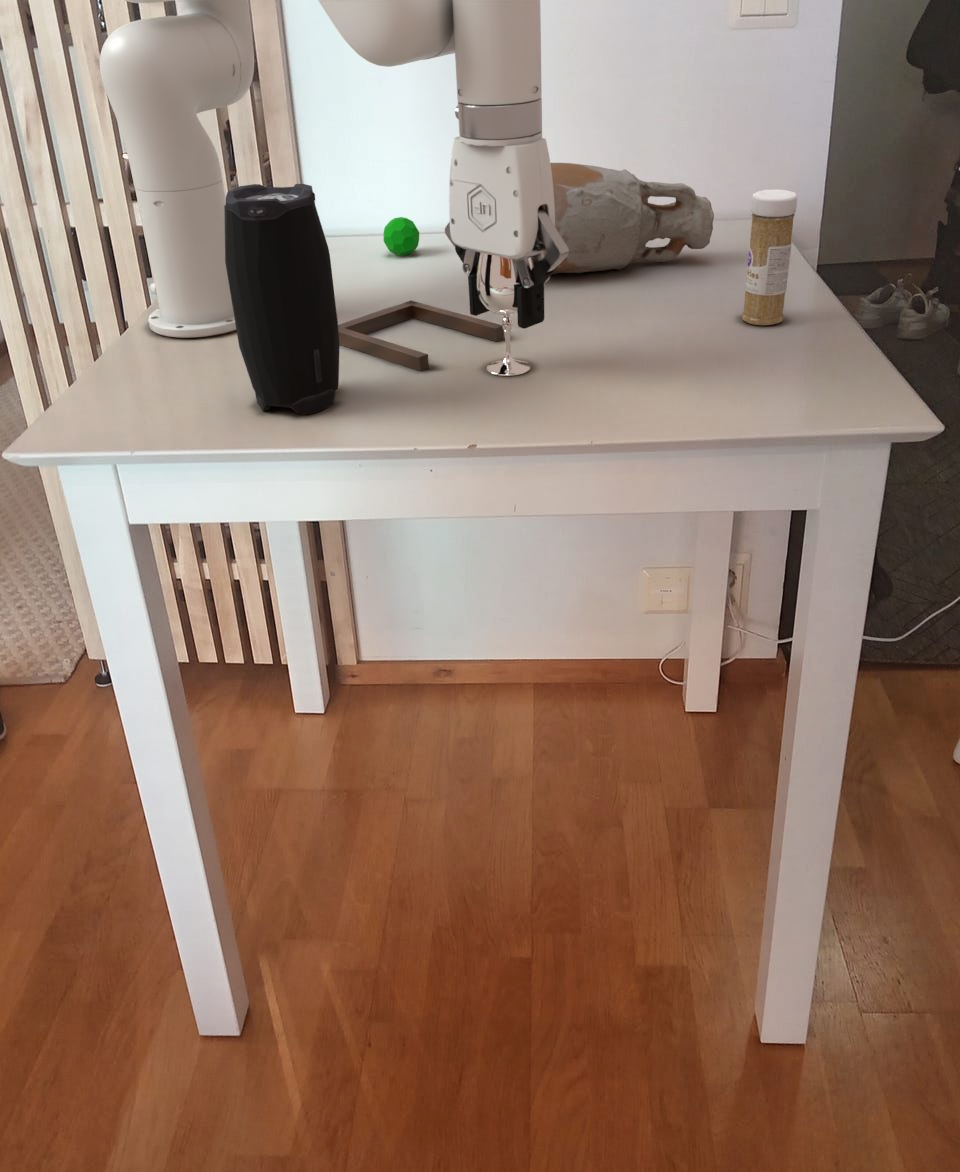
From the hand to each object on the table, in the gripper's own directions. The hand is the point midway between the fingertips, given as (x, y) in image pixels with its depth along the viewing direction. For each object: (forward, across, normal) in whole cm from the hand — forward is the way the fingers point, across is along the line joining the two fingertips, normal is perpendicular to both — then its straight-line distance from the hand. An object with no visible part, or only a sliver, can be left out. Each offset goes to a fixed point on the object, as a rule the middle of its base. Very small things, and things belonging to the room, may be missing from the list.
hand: (506, 316), depth 106 cm
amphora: (+6, -16, +32) cm, 36 cm away
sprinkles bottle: (+6, +12, +28) cm, 31 cm away
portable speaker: (+6, -10, -19) cm, 22 cm away
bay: (+5, -14, 0) cm, 15 cm away
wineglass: (+6, 0, 0) cm, 6 cm away
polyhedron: (+6, -42, +23) cm, 48 cm away
